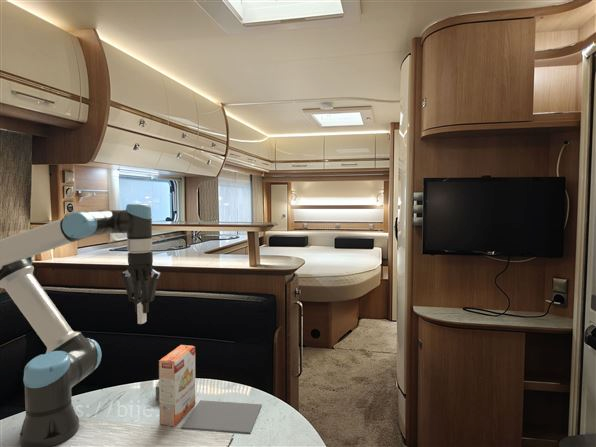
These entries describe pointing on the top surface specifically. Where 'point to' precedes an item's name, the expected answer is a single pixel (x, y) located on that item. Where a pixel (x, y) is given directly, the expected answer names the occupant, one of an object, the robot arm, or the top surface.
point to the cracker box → (176, 384)
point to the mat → (223, 416)
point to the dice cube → (157, 391)
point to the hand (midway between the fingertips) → (142, 322)
